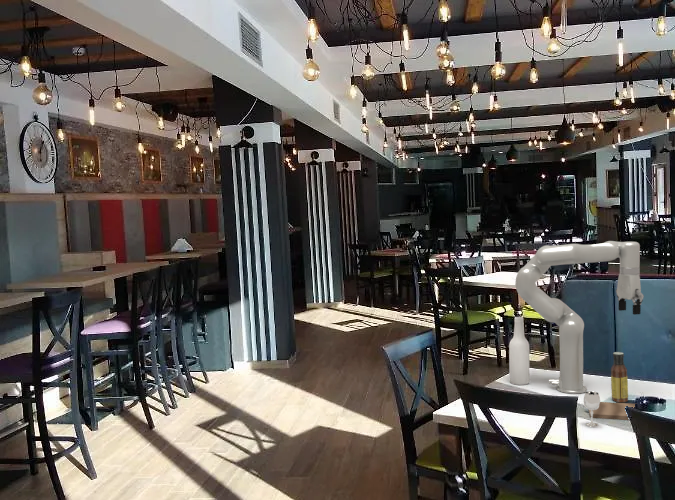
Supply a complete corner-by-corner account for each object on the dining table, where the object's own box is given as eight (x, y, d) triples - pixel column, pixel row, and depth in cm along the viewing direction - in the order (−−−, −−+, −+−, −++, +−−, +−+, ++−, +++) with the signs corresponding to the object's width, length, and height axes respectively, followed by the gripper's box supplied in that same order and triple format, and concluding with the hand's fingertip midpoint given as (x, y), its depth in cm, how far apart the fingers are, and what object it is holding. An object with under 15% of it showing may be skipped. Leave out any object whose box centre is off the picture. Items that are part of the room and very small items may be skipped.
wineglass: (580, 422, 248) (580, 391, 247) (595, 421, 249) (595, 390, 248) (587, 427, 243) (587, 395, 242) (603, 427, 243) (603, 394, 242)
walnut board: (590, 417, 253) (590, 413, 253) (587, 404, 269) (587, 401, 268) (647, 421, 248) (647, 417, 247) (641, 407, 263) (641, 404, 263)
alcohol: (509, 385, 299) (509, 319, 296) (509, 379, 307) (508, 315, 305) (530, 385, 297) (529, 319, 294) (528, 380, 305) (528, 315, 303)
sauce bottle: (627, 398, 274) (627, 351, 273) (628, 403, 268) (629, 355, 267) (610, 397, 276) (610, 350, 275) (611, 402, 271) (611, 354, 269)
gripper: (609, 269, 283) (609, 309, 285) (634, 274, 266) (633, 316, 268) (625, 268, 285) (625, 308, 286) (651, 273, 268) (650, 315, 269)
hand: (629, 312), depth 277 cm, fingers open, 9 cm apart
